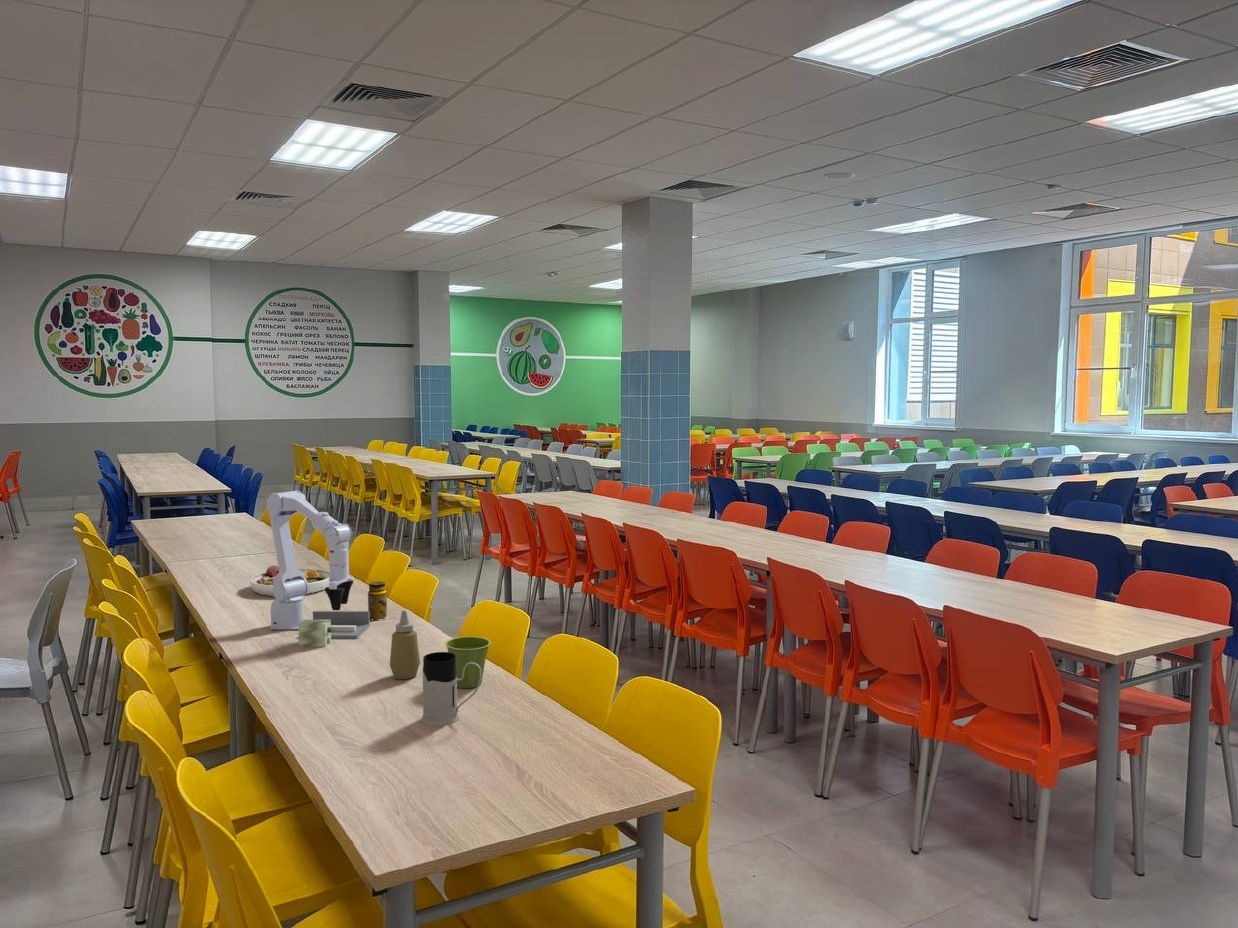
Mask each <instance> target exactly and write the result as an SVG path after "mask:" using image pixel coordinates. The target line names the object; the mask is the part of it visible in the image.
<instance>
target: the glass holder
mask: <svg viewBox="0 0 1238 928" xmlns="http://www.w3.org/2000/svg"><path fill="white" fill-rule="evenodd" d="M422 659H423V661H422V662H423V663H422V664H423V665H422V712H423V714H422V717H421V719H420V722H421V723H423V724H424V725H427V726H430V727H443V726H449V725H452V724H453V725H454V724H455V723H457V722H458V721H459V720H458V719H460V715H459V714H458V712H459V708H460V707H461V706H462V705H464V704H465V703H466V702H467V701H469V700H470V699H471V698H472V697H473V696H474V695H475V694H477V691H478V689H479V687H480V682H481V674H482V673H481V668H480V666H479V665H478V664H477V663H474V662H470V663H467V664H466V665H465V666H464V668H463V671H462V678H461V679H457V676H456V655H455V654H453V653H449V652H448V651H438V652H431V653H427V654H425V655H424V656H423V657H422ZM469 664H474V665H476V666H477V667H478V668H479V671H480V678H479V683H478V686H477V687H475V690H474V691H473V692H472V693H471V694H470V695H469V696H468V697H467V698H465V699H464V700H462V702H461V703H460V704H459V705H458V687H457V681H460V680H462V679H463V678H464V670H465V668H466V666H467V665H469ZM481 683H482V682H481Z"/></svg>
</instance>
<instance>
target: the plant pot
mask: <svg viewBox="0 0 1238 928" xmlns="http://www.w3.org/2000/svg"><path fill="white" fill-rule="evenodd" d="M491 643H492V642H491V640H490V639H488V638H486V637H481V636H473V635H472V636H470V635H469V636H459V637H454V638H451V639H448V640H446V641H445V642H444V645H445V648H447V652H449V653H453V654H455V655H456V676H457V679H461V678H462V671H463V668H464V666H465V665H466V664H467V663H470V662H474V663H477V664H478V665H479V666H480V668H481V673H482V674H481V682H480V685H481V684H482V682H483V677H484V671H485V669H484V668H485V664H486V659H487V654H488V650H489V647H490V645H491ZM479 678H480V671H479V668H478V667H477V666H476V665H474V664H469V665H467V666H466V668H465V670H464V678H463V679H462V680H460V681H457V688H460V689H463V688H468V689H473V688H477V686H478V683H479ZM480 685H479V686H480Z"/></svg>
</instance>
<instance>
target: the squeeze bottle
mask: <svg viewBox="0 0 1238 928" xmlns="http://www.w3.org/2000/svg"><path fill="white" fill-rule="evenodd" d="M389 658H390V659H389V667H390V670H391V672H392V674H393V678H395V679H397V680H408V679H410V680H411V679H413V678H415V677H416V676H417V675H418V671H419V668H420V665H421V661H420V660H421V658H420V651H419V641H418V632H416V631H415V630H414V623H412V622H410V621H409V617H408V611H407V610H406V609H405V610H402V611H401V613H400V619H399V622H398V623H396V624H395V631H394V632H393V633H392V635H391V646H390V657H389Z"/></svg>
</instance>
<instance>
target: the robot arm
mask: <svg viewBox="0 0 1238 928" xmlns="http://www.w3.org/2000/svg"><path fill="white" fill-rule="evenodd" d="M266 506H267V512H268V518H269V519H270V521H269V522H270V525H271V532H272V538H273V543H274V549H275V555H276V556H275V557H276V561H277V566H278V567H279V573H278V574H277V575H276V576H275V577H274V579H273V595H274V596H273V597H274V598H275V599H274V600H273V601H272V602H271V606H270V624H271V625H270V628H269V629H270V630H278V631H279V630H285V631H286V630H288V631H289V630H292V631H293V630H294V631H295V630H296V631H297V630H298V631H299V629H298V624H299V623H300V622H302V621H303V620H304V599H305V598H306V596H307V595H308V594H307V592H308V583H307V581H306V579H305V576H304V573H303V572H302V571H300V570H298V569H299V568H297V563H296V556H295V551H294V546H293V545H294V544H293V540H292V533H291V529H290V528H291V527H290V519H291V518H292V517H293V516H295V515H296V514H297V513H299V514H300V515H302V516H303V517H305V518H306V519H308V520H309V521H311V526H312V528H314V529H315V530H316V531H318V533H320V534H321V535H323V536H324V541H325V543H326V548H327V550H328V563H329V564H328V565H329V569H328V571H329V572H330V578H329V582H330V583H329V587H326V588H325V589H324V592H325V593H326V594H327V597H328V599H329V602H330V607H331V609H332V610H331V611H341V606H342V605H347V604H348V601H349V598H350V597H349V596H350V592H351V588H352V586H353V584H354V577H353V576H350V572H349V570H350V566H349V565H350V564H349V563H350V562H349V555H350V554H349V542H350V541H351V540H353V539H352V538H353V531H352V528H351V527H350V525H349V524H348V523H340V522H339V521H337V519H334V518H333V517H332V516H331V515H329V513H328V512H327V511H325V512H324V511H318V510H317V509H316V507H314V506H313V505H312V504H311V503H310V502H309V501H307V500H306V495H305V494H304V493H302V492H301V491H300V490H298V489H295V490H292V491H283V492H273V493H271V494H270V495H269V496H268V498H267V500H266ZM289 578H293V579H290V580H286V579H289ZM285 580H286V581H285ZM306 594H307V595H306Z"/></svg>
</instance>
